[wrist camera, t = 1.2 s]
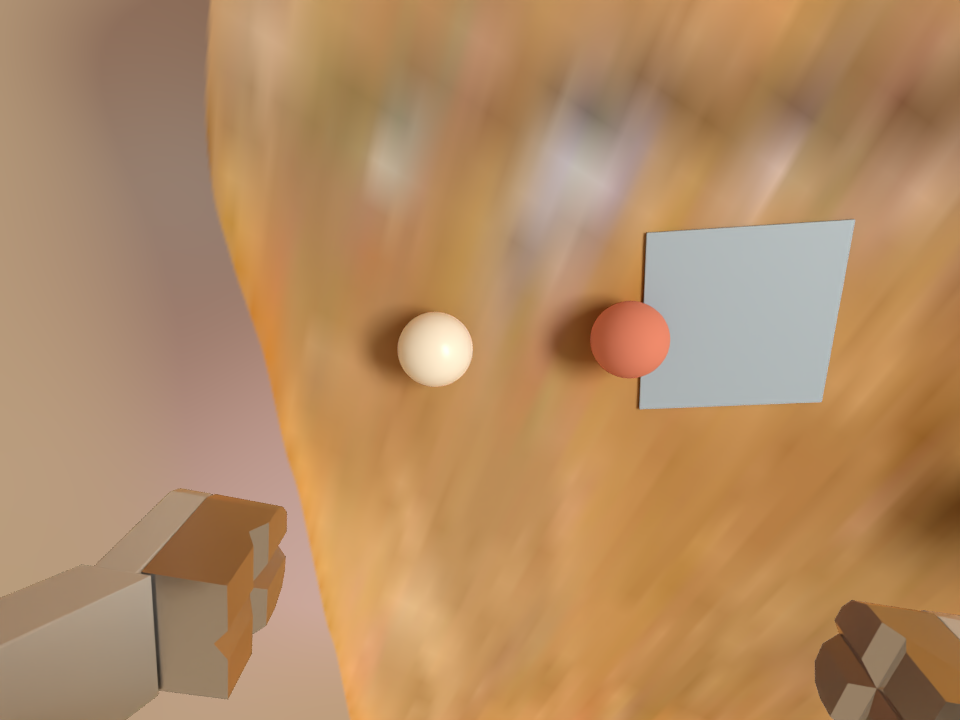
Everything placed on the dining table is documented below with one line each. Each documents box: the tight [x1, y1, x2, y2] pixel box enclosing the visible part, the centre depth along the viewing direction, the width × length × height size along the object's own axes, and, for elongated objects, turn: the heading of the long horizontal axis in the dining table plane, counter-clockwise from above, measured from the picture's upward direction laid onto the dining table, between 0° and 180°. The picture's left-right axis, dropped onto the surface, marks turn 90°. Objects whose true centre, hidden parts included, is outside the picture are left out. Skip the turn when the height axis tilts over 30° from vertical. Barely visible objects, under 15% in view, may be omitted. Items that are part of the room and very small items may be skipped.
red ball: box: [590, 301, 670, 378], centre depth 39 cm, size 6×6×6 cm
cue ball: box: [398, 312, 473, 387], centre depth 40 cm, size 6×6×6 cm
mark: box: [639, 219, 855, 409], centre depth 41 cm, size 14×14×1 cm
